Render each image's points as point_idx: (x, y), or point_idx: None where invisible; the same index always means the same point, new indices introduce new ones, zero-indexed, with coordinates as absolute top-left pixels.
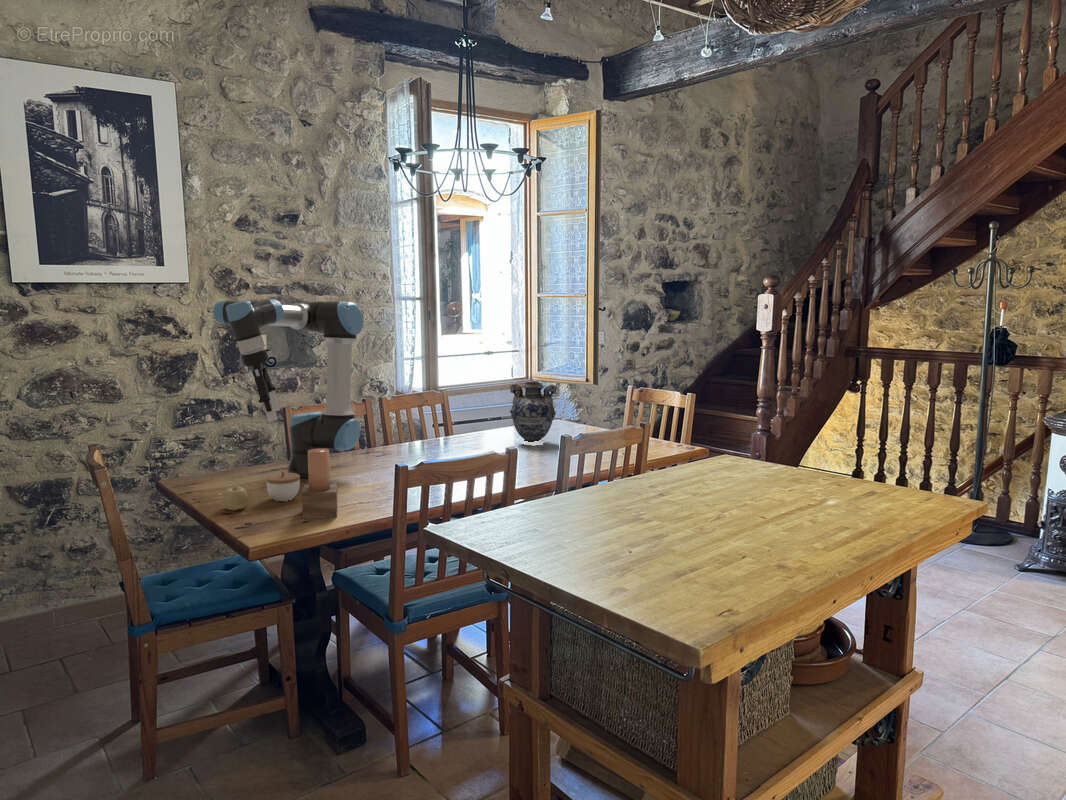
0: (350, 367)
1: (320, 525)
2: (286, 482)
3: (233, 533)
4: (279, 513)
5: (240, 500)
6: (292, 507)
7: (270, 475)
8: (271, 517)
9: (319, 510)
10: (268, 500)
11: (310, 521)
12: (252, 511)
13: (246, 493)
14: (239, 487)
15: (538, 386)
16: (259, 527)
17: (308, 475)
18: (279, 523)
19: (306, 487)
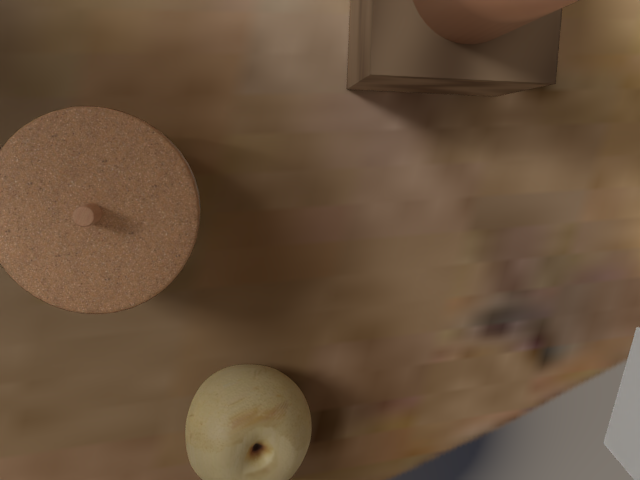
0: None
1: (608, 17)
2: (195, 185)
3: (606, 363)
4: (377, 206)
5: (304, 398)
6: (290, 150)
7: (55, 291)
8: (430, 236)
9: None
10: None
11: None
12: (314, 328)
13: (260, 385)
14: (246, 433)
15: None
16: (559, 273)
17: (510, 27)
18: (528, 196)
19: (428, 59)
